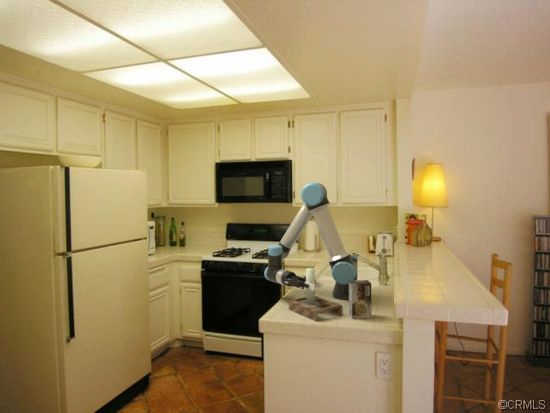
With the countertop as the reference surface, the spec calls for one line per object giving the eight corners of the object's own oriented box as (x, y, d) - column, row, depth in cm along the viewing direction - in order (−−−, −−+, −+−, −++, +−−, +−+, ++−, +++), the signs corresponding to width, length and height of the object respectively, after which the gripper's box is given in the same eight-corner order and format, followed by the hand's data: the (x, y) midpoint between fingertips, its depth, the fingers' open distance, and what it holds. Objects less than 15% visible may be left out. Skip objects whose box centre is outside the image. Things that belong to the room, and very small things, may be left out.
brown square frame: (288, 309, 187) (288, 300, 187) (314, 304, 195) (314, 295, 195) (315, 321, 170) (315, 311, 169) (342, 314, 178) (342, 305, 178)
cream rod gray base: (311, 302, 192) (312, 266, 191) (323, 307, 184) (323, 269, 183) (297, 305, 187) (297, 268, 186) (308, 310, 179) (308, 271, 178)
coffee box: (367, 314, 179) (368, 279, 179) (371, 318, 173) (372, 282, 172) (348, 314, 179) (348, 279, 178) (351, 319, 173) (351, 283, 172)
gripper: (299, 282, 205) (331, 291, 186) (273, 287, 194) (304, 297, 176) (299, 268, 204) (331, 276, 186) (273, 272, 194) (304, 281, 175)
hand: (318, 286), depth 181 cm, fingers closed on cream rod gray base, 4 cm apart
